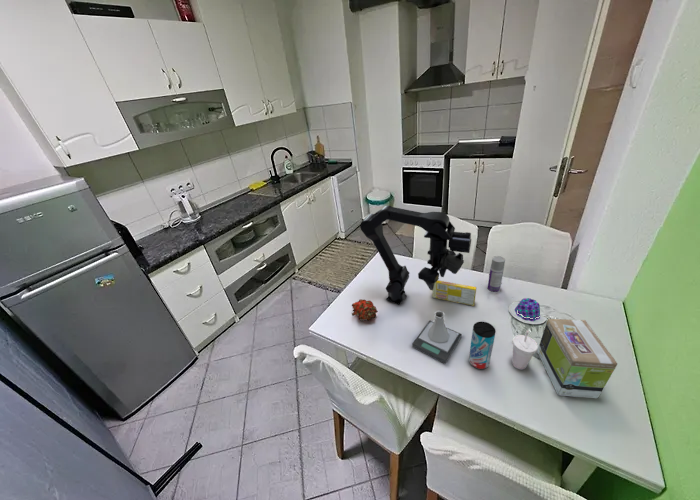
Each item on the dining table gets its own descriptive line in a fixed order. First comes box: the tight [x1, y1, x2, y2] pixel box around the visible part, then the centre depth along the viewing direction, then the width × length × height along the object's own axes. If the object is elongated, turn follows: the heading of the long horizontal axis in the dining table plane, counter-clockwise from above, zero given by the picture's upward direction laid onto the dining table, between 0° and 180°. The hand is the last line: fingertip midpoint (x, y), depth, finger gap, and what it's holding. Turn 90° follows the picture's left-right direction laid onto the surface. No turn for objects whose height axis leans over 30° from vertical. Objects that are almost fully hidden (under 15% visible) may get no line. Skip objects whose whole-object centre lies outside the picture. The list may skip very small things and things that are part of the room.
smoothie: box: [511, 330, 539, 370], centre depth 82 cm, size 6×6×14 cm
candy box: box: [431, 279, 477, 307], centre depth 111 cm, size 16×2×8 cm, turn 63°
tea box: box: [536, 318, 618, 399], centre depth 77 cm, size 15×10×15 cm, turn 170°
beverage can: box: [468, 321, 497, 370], centre depth 84 cm, size 6×6×15 cm
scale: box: [411, 320, 463, 365], centre depth 96 cm, size 12×13×2 cm
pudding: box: [508, 297, 548, 325], centre depth 101 cm, size 12×12×5 cm
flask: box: [428, 310, 449, 343], centre depth 93 cm, size 7×7×10 cm
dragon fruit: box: [351, 298, 379, 322], centre depth 110 cm, size 8×8×12 cm
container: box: [487, 255, 506, 293], centre depth 111 cm, size 5×5×15 cm
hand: (436, 283), depth 105 cm, fingers open, 9 cm apart
